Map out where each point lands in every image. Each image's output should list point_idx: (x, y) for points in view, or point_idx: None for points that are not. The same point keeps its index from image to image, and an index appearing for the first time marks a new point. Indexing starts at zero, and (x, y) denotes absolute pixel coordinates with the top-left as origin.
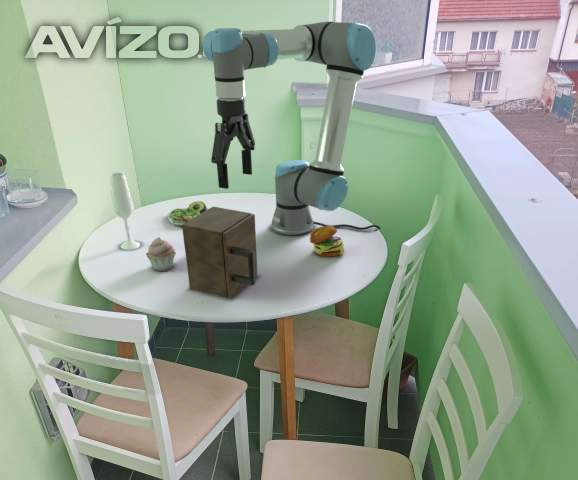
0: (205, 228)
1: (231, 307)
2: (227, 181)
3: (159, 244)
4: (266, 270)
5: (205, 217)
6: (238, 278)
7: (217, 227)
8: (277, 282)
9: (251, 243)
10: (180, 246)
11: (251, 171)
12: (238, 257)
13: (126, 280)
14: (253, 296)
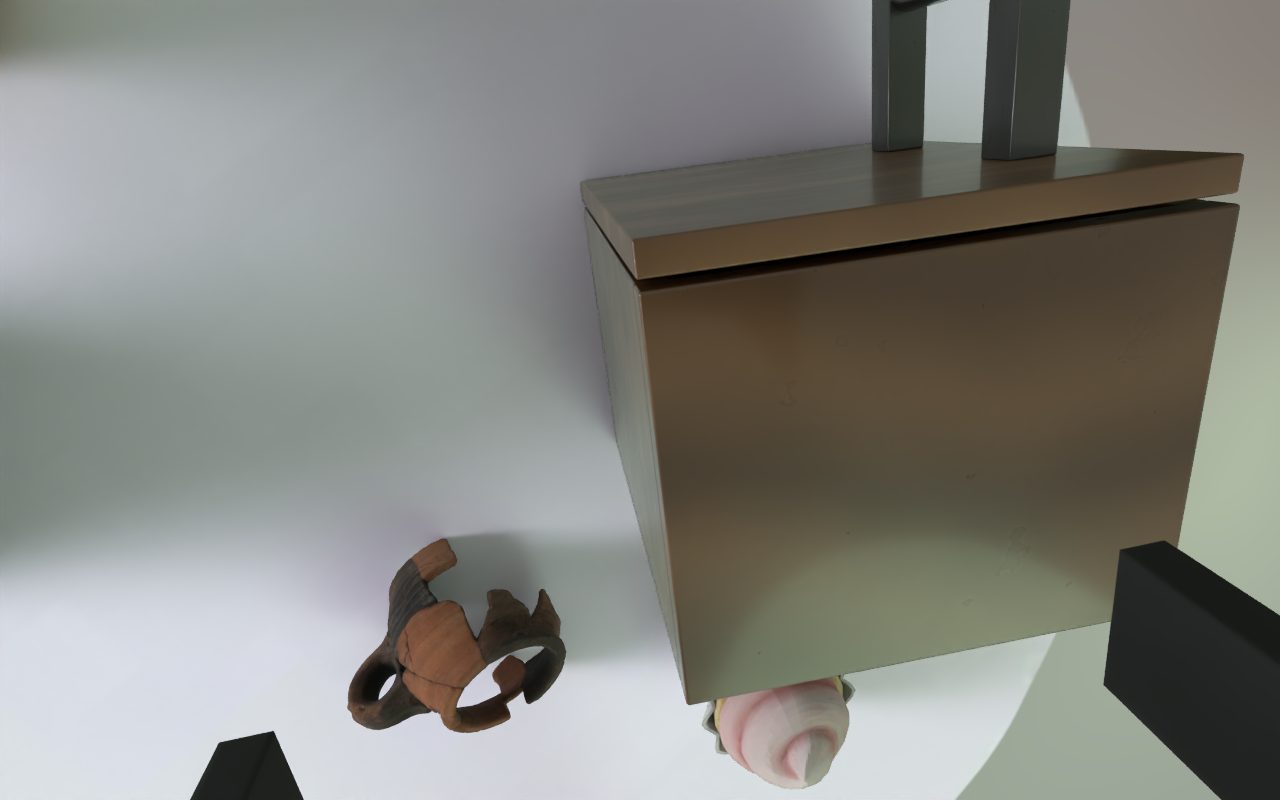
0: (1192, 399)
1: (964, 74)
2: (1253, 622)
3: (823, 736)
4: (470, 190)
5: (957, 575)
6: (922, 94)
7: (1140, 323)
8: (568, 15)
9: (680, 194)
10: (523, 753)
11: (216, 788)
12: (876, 164)
13: (933, 671)
14: (801, 40)
